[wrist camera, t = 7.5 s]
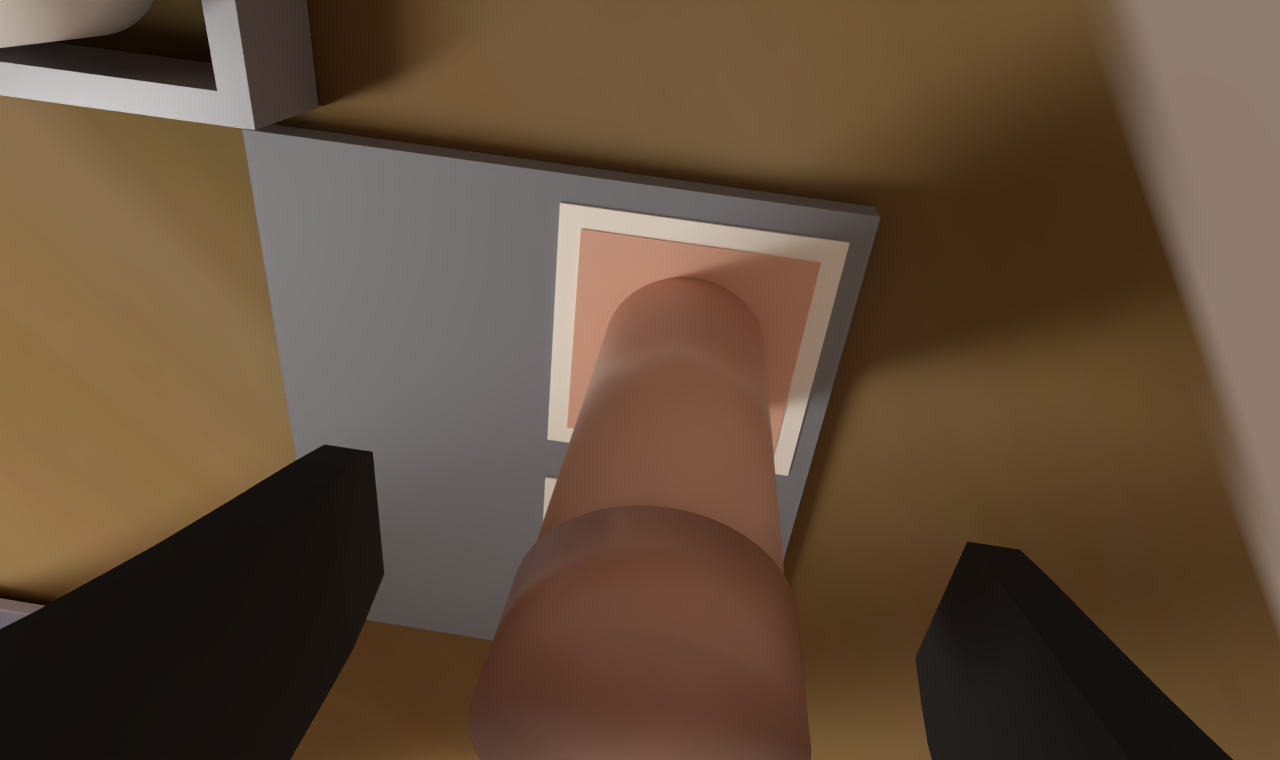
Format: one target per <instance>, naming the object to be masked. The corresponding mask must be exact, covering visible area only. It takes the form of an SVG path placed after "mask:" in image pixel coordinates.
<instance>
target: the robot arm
mask: <svg viewBox="0 0 1280 760" xmlns="http://www.w3.org/2000/svg"><path fill="white" fill-rule="evenodd" d="M383 576H384V564H383V554H382V543H381V532H380V522H379V511H378V501H377V490H376V480H375V469H374V458H373V452H372V451H365V450H358V449H352V448H345V447H339V446H332V445H325V444H324V445H322V446H321V447H319V448H317V449H315V450H313V451H311V452H310V453H308V454H306V455H304V456H303V457H301V458H299V459H298V460H296V461H294V462H293V463H291V464H289V465H288V466H286V467H284V468H283V469H281V470H279V471H278V472H276V473H274V474H273V475H271V476H269V477H268V478H266V479H265V480H263V481H261V482H260V483H258V484H256V485H255V486H253V487H251V488H250V489H248V490H247V491H245V492H243V493H242V494H240V495H238V496H237V497H235V498H233V499H232V500H230V501H229V502H227V503H225V504H224V505H222V506H220V507H219V508H217V509H215V510H214V511H212V512H210V513H209V514H207V515H205V516H203V517H202V518H200V519H198V520H197V521H195V522H193V523H192V524H190V525H188V526H187V527H185V528H183V529H182V530H180V531H178V532H177V533H175V534H173V535H172V536H170V537H168V538H167V539H165V540H163V541H162V542H160V543H158V544H156V545H155V546H153V547H151V548H150V549H148V550H146V551H144V552H142V553H141V554H139V555H137V556H135V557H133V558H131V559H130V560H128V561H126V562H124V563H122V564H121V565H119V566H117V567H115V568H113V569H111V570H110V571H108V572H106V573H104V574H102V575H101V576H99V577H97V578H95V579H93V580H91V581H90V582H88V583H86V584H84V585H82V586H81V587H79V588H77V589H75V590H73V591H71V592H70V593H68V594H66V595H64V596H62V597H61V598H59V599H57V600H55V601H53V602H51V603H50V604H48V605H46V606H45V605H39V604H33V603H27V602H21V601H14V600H8V599H2V598H0V760H290V759H291V757H292V756H293V754H294V752H295V750H296V749H297V747H298V745H299V743H300V742H301V740H302V738H303V737H304V735H305V733H306V731H307V730H308V728H309V726H310V724H311V723H312V721H313V719H314V717H315V716H316V714H317V712H318V710H319V709H320V707H321V705H322V703H323V702H324V700H325V698H326V696H327V695H328V693H329V691H330V689H331V688H332V686H333V684H334V682H335V680H336V679H337V677H338V675H339V673H340V672H341V670H342V668H343V666H344V664H345V663H346V661H347V659H348V657H349V655H350V654H351V652H352V650H353V648H354V646H355V643H356V641H357V639H358V636H359V634H360V632H361V629H362V627H363V625H364V623H365V620H366V618H367V616H368V613H369V611H370V608H371V606H372V603H373V601H374V599H375V596H376V594H377V591H378V589H379V586H380V584H381V581H382V579H383ZM916 665H917V673H918V681H919V689H920V696H921V704H922V710H923V717H924V723H925V729H926V735H927V742H928V746H929V750H930V754H931V758H932V760H1233V759H1232V758H1231V757H1230V756H1228V755H1227V754H1226V753H1225V752H1224V751H1223V750H1222V749H1221V748H1220V747H1219V746H1218V745H1217V744H1216V743H1215V742H1214V741H1213V740H1212V739H1211V738H1210V737H1209V736H1207V735H1206V734H1205V733H1204V732H1203V731H1202V730H1201V729H1200V728H1199V727H1198V726H1197V725H1196V724H1195V723H1194V722H1193V721H1192V720H1191V719H1190V718H1189V717H1188V716H1187V715H1186V714H1185V713H1184V712H1183V711H1182V710H1181V709H1179V708H1178V707H1177V706H1176V705H1175V704H1174V703H1173V702H1172V701H1171V700H1170V699H1169V698H1168V697H1167V696H1166V695H1165V694H1164V693H1163V692H1162V691H1161V690H1160V689H1159V688H1158V687H1157V686H1156V685H1155V684H1154V683H1153V682H1152V681H1151V680H1150V679H1149V678H1148V677H1147V676H1146V675H1145V674H1144V673H1143V672H1142V671H1141V670H1140V669H1139V668H1138V667H1137V666H1136V665H1135V664H1134V663H1133V662H1132V661H1131V660H1130V659H1129V658H1128V657H1127V656H1126V655H1125V654H1124V653H1123V652H1122V651H1121V650H1120V649H1119V648H1118V647H1117V646H1116V645H1115V644H1114V643H1113V642H1112V641H1111V640H1110V639H1109V638H1108V637H1107V636H1106V635H1105V634H1104V633H1103V632H1102V631H1101V630H1100V629H1099V627H1098V626H1097V625H1096V624H1095V623H1094V622H1093V621H1092V620H1091V619H1090V618H1089V617H1088V616H1087V615H1086V614H1085V613H1084V612H1083V611H1082V610H1081V609H1080V608H1079V607H1078V606H1077V605H1076V604H1075V603H1074V602H1073V601H1072V600H1071V599H1070V598H1069V597H1068V596H1067V595H1066V594H1065V593H1064V592H1063V591H1062V590H1061V589H1060V588H1059V587H1058V586H1057V585H1056V584H1055V583H1054V582H1053V581H1052V580H1051V579H1050V578H1049V577H1048V576H1047V575H1046V574H1045V573H1044V572H1043V571H1042V570H1041V569H1040V568H1039V567H1038V566H1037V565H1036V564H1034V563H1033V562H1032V561H1031V560H1030V559H1029V558H1028V557H1027V556H1026V555H1025V554H1024V553H1023V552H1021V551H1020V550H1018V549H1012V548H1005V547H999V546H992V545H985V544H979V543H972V542H967V544H966V546H965V548H964V550H963V552H962V555H961V557H960V559H959V561H958V564H957V566H956V568H955V570H954V573H953V575H952V577H951V579H950V582H949V584H948V586H947V588H946V591H945V593H944V595H943V597H942V599H941V602H940V604H939V606H938V608H937V611H936V613H935V615H934V617H933V620H932V622H931V624H930V626H929V629H928V631H927V633H926V635H925V637H924V640H923V642H922V644H921V646H920V649H919V651H918V653H917V655H916Z"/></svg>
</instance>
